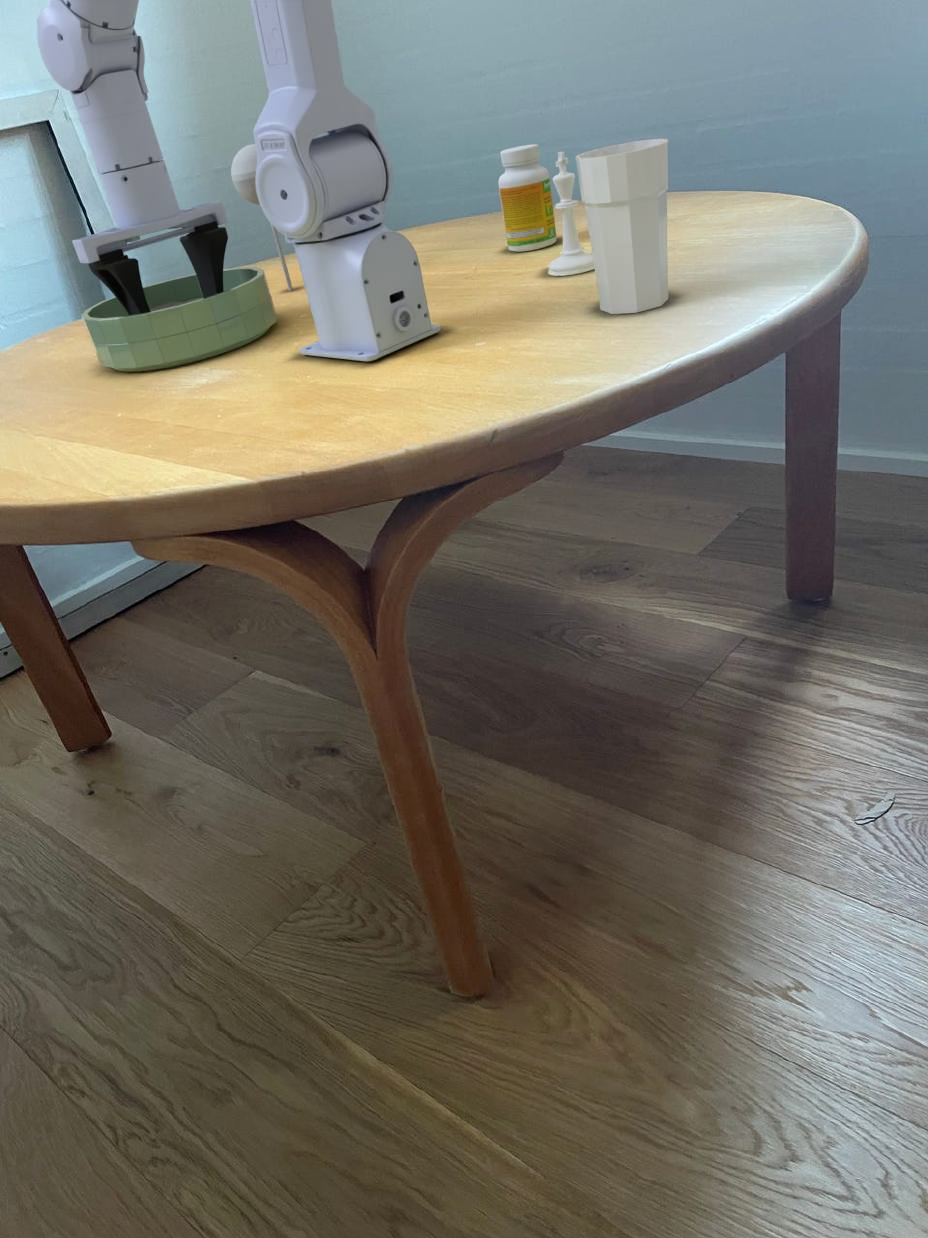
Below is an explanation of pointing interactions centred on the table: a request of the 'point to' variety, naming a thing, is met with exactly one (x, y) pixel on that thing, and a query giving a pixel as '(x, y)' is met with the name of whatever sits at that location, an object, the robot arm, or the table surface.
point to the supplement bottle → (526, 200)
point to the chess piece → (568, 227)
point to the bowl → (182, 322)
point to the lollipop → (252, 189)
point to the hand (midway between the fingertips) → (184, 321)
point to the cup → (627, 222)
